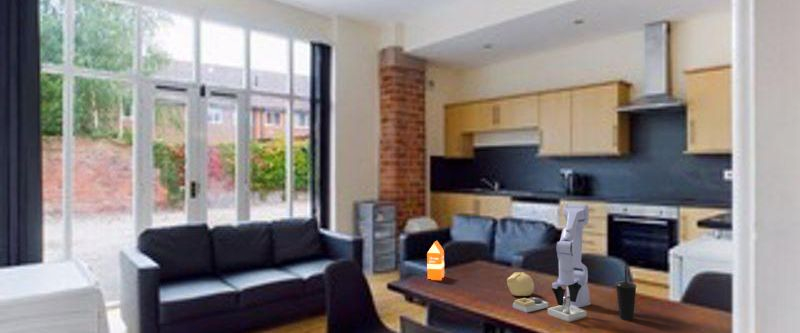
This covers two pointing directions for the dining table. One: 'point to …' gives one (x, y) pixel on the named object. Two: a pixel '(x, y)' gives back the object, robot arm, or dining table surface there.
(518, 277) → the sculpture
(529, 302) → the white flat block
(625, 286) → the drinking cup
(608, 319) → the dining table surface
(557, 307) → the tray
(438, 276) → the orange juice
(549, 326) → the dining table surface
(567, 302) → the lock pin
